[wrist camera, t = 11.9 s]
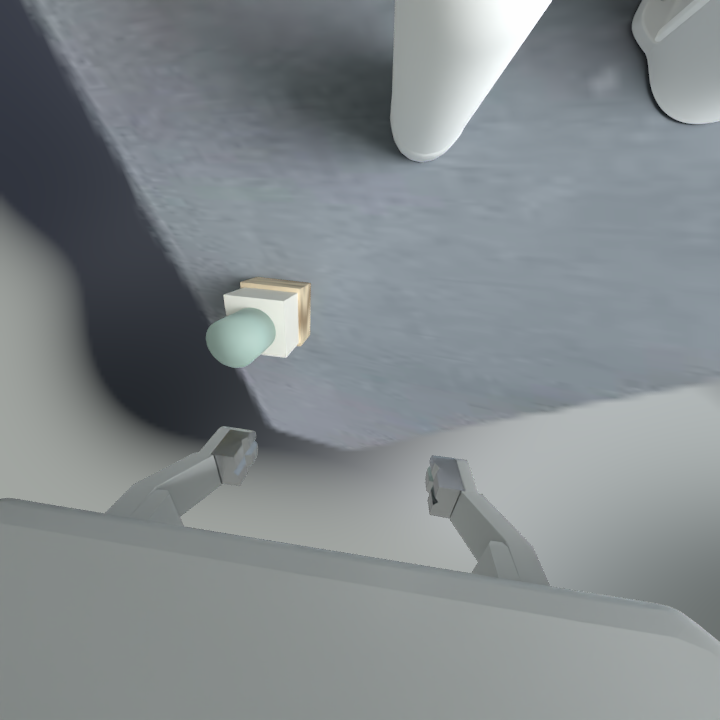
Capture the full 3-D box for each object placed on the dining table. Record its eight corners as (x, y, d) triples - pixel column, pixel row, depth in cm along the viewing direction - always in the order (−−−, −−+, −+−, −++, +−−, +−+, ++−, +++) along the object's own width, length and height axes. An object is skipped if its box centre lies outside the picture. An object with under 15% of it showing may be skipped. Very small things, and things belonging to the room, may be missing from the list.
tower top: (245, 287, 33) (223, 294, 29) (297, 292, 33) (283, 301, 29) (250, 337, 36) (231, 351, 32) (298, 342, 36) (286, 357, 32)
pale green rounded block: (230, 305, 29) (201, 317, 25) (274, 310, 29) (253, 322, 25) (236, 346, 32) (210, 364, 27) (276, 351, 31) (258, 370, 27)
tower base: (257, 276, 38) (239, 282, 33) (310, 282, 37) (300, 288, 33) (261, 328, 41) (246, 339, 37) (310, 334, 41) (300, 346, 36)
